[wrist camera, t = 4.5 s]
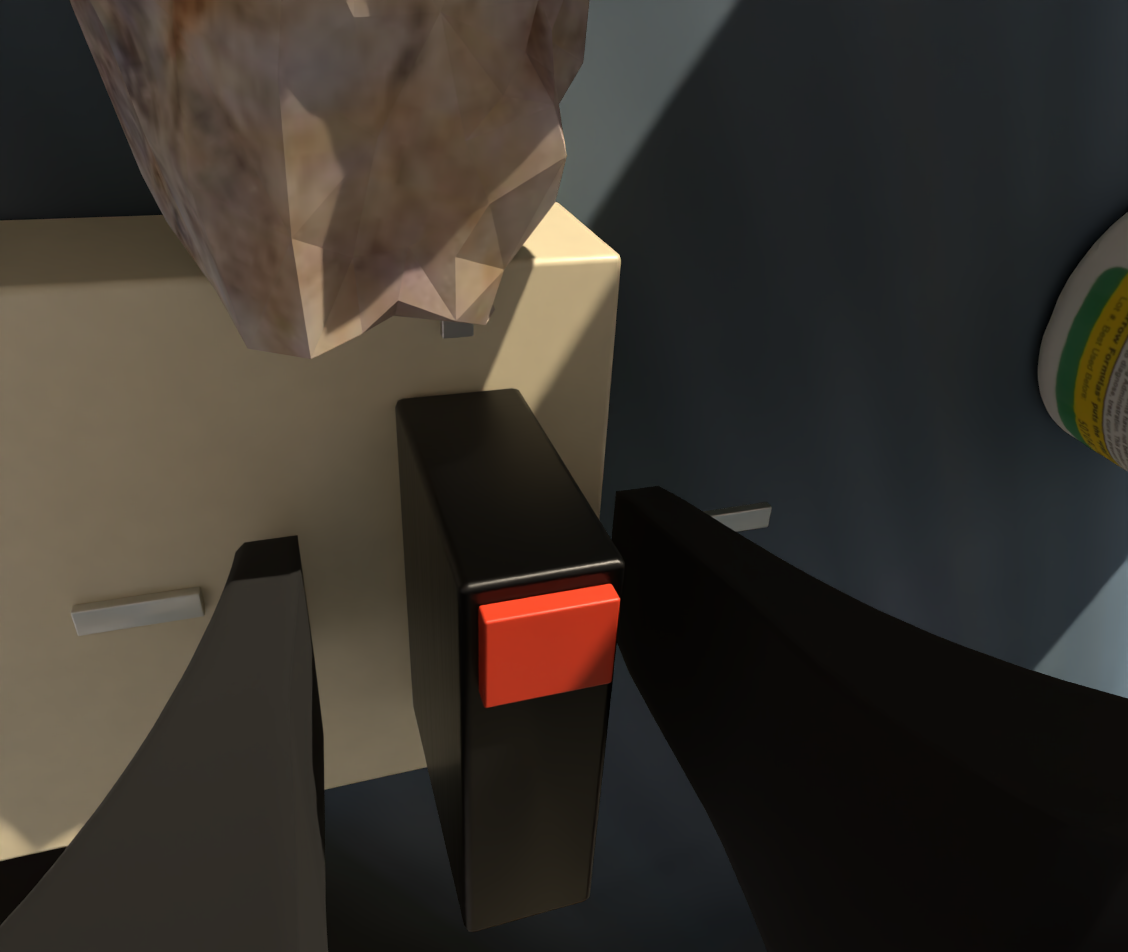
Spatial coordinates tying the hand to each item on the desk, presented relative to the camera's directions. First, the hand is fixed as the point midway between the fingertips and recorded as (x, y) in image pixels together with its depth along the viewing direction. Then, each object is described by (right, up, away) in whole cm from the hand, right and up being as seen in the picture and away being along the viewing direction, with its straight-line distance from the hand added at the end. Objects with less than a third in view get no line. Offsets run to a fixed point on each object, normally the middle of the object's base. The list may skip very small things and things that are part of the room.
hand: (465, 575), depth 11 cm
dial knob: (0, 0, 0) cm, 0 cm away
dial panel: (-2, +1, +2) cm, 3 cm away
